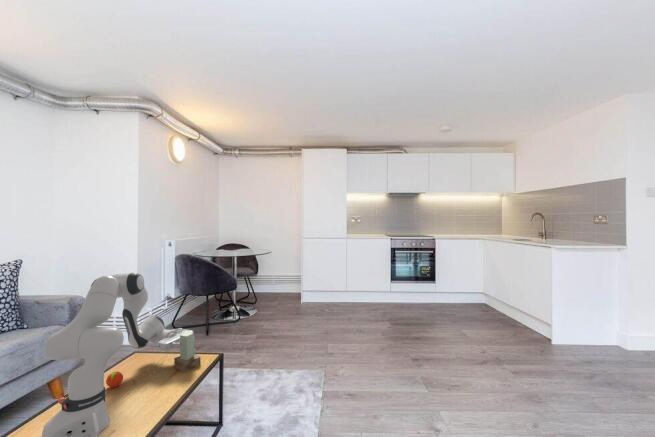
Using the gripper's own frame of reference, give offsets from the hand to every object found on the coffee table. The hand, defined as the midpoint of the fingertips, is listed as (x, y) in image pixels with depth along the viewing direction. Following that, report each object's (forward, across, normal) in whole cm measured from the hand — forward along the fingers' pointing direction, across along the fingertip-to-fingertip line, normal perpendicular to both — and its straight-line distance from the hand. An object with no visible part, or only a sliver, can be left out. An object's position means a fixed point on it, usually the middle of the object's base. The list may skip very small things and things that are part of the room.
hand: (187, 341), depth 173 cm
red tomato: (-17, -29, +14) cm, 36 cm away
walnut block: (0, 0, +13) cm, 13 cm away
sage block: (0, 0, +9) cm, 9 cm away
